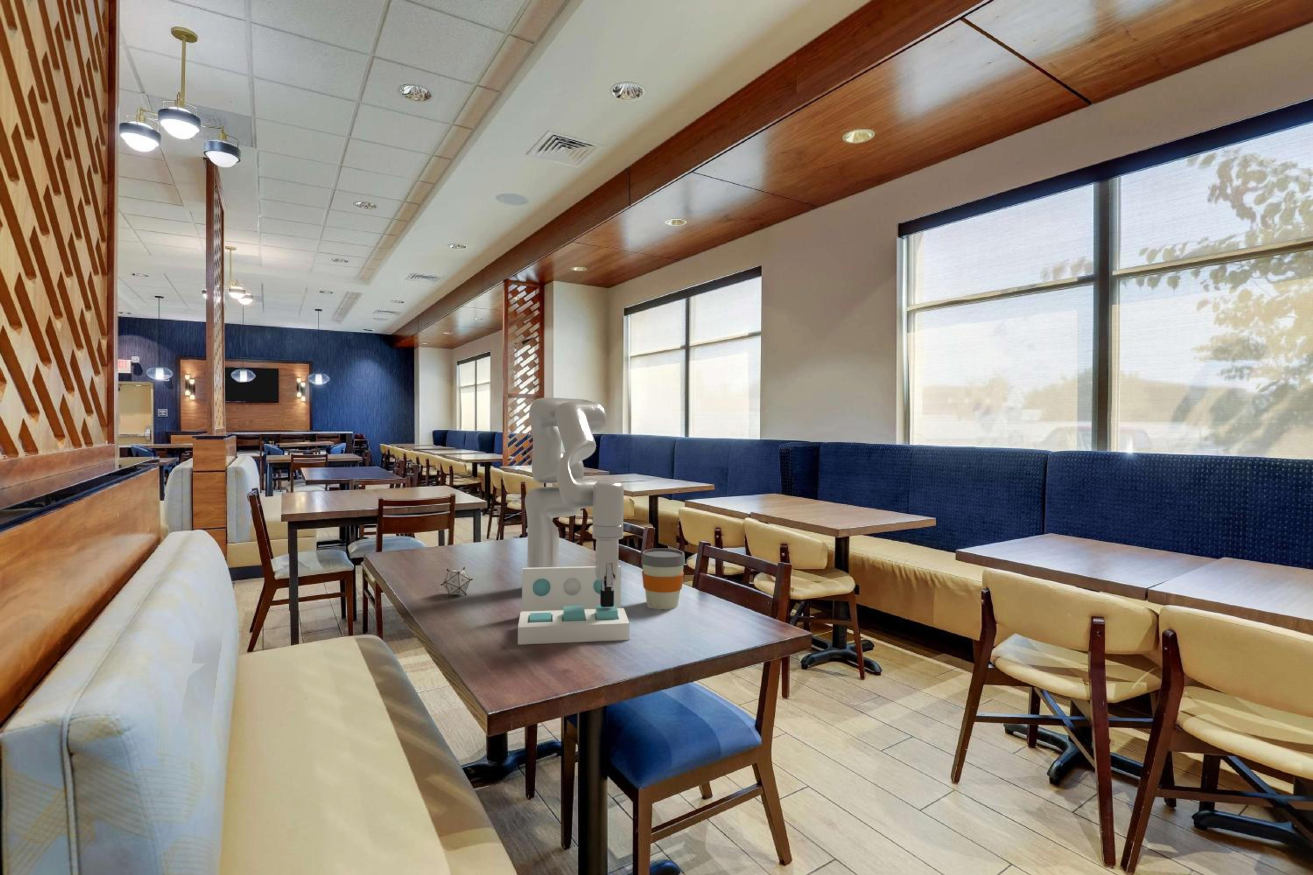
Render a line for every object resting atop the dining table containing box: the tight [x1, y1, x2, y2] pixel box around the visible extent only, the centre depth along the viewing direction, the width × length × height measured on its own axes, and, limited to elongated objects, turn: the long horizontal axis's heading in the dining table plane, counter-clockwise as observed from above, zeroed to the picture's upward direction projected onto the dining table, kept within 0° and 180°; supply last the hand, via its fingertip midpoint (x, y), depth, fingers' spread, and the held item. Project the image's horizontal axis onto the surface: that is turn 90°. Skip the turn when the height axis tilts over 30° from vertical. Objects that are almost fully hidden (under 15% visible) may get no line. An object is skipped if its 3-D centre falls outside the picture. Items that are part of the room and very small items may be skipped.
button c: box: [595, 605, 618, 620], centre depth 150 cm, size 5×5×3 cm
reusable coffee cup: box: [640, 548, 686, 610], centre depth 173 cm, size 13×12×15 cm
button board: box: [517, 607, 631, 646], centre depth 148 cm, size 12×26×4 cm, turn 100°
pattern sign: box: [521, 565, 622, 612], centre depth 162 cm, size 6×26×13 cm, turn 100°
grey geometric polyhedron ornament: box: [440, 566, 474, 598], centre depth 179 cm, size 9×8×10 cm
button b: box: [563, 606, 585, 621], centre depth 148 cm, size 5×5×3 cm
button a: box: [530, 613, 551, 623], centre depth 147 cm, size 5×5×3 cm
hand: (607, 605), depth 150 cm, fingers closed
